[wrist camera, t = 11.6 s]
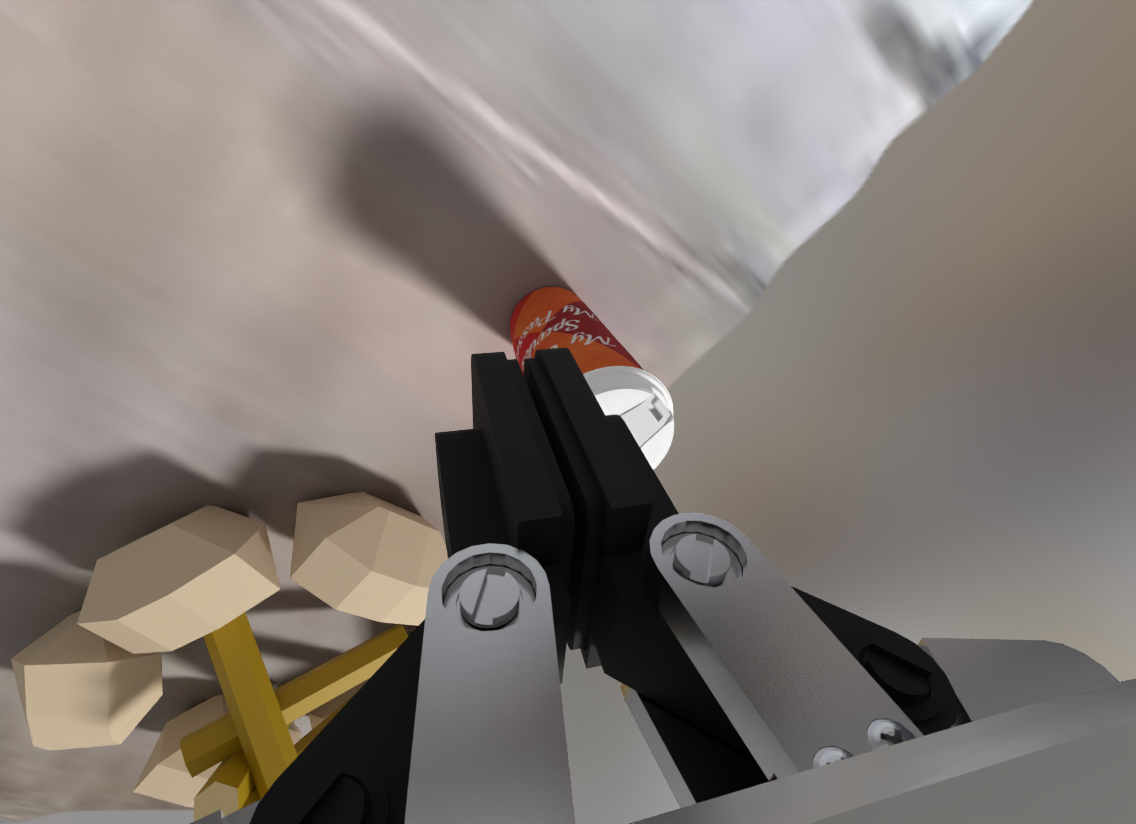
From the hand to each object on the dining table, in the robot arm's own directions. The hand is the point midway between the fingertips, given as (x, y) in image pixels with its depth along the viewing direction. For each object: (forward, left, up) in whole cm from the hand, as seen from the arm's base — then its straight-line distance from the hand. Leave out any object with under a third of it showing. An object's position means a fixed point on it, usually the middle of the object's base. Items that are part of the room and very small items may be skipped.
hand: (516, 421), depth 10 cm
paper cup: (+12, +7, -27) cm, 30 cm away
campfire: (+40, -15, -27) cm, 50 cm away
